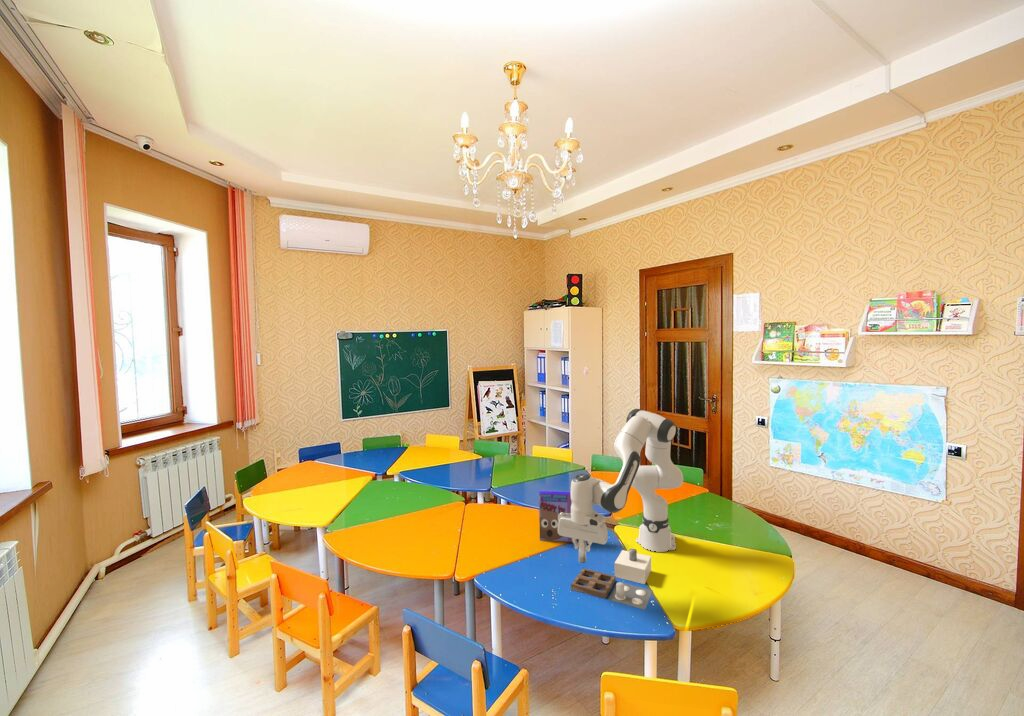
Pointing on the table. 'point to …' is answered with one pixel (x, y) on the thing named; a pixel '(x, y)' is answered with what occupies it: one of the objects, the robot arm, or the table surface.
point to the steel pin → (582, 551)
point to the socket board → (593, 583)
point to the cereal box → (553, 514)
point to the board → (631, 595)
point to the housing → (633, 566)
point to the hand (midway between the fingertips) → (582, 549)
